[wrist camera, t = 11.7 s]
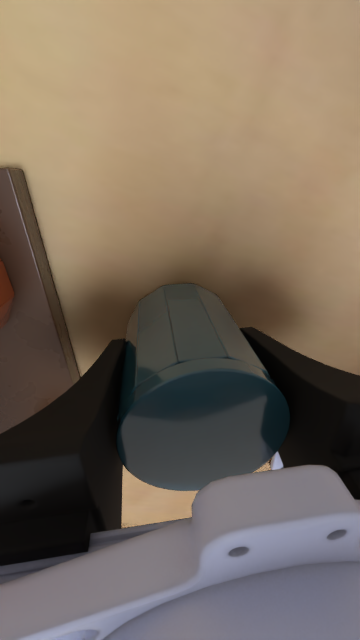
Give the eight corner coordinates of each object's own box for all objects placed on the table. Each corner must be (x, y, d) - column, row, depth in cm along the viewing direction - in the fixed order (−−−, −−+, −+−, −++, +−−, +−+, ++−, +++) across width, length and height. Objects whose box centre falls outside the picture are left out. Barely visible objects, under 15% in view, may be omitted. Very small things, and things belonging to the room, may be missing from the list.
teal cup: (232, 278, 13) (307, 359, 7) (226, 366, 16) (277, 479, 10) (121, 287, 13) (99, 381, 7) (134, 376, 16) (128, 502, 9)
